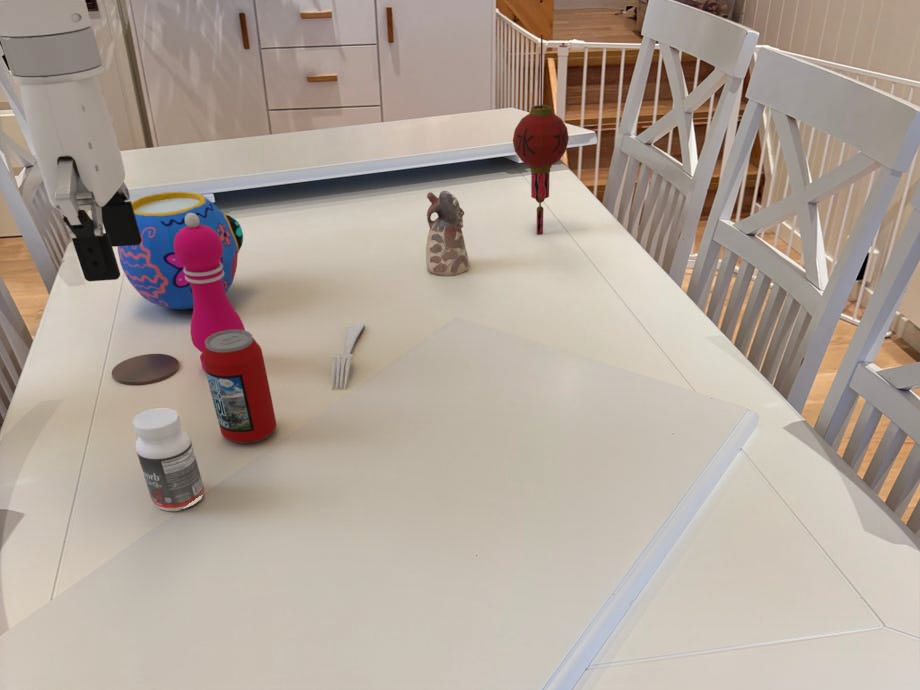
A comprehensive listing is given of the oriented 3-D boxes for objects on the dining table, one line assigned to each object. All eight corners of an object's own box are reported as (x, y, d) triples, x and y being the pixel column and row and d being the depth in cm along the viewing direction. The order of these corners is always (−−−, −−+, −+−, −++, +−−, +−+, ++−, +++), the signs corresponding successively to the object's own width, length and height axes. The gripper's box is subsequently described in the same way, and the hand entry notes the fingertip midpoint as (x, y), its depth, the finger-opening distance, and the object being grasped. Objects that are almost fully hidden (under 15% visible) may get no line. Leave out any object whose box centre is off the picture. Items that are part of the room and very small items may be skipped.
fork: (368, 340, 137) (366, 321, 135) (349, 389, 120) (346, 368, 118) (349, 341, 137) (347, 322, 135) (328, 389, 120) (325, 369, 118)
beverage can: (211, 434, 112) (187, 340, 104) (257, 415, 115) (237, 322, 107) (242, 453, 108) (219, 357, 100) (288, 432, 111) (270, 337, 103)
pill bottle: (144, 498, 101) (117, 416, 95) (191, 479, 104) (168, 399, 97) (167, 519, 98) (141, 436, 91) (214, 499, 101) (192, 417, 94)
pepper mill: (189, 375, 125) (149, 221, 111) (213, 352, 130) (178, 203, 117) (238, 379, 123) (203, 223, 110) (260, 356, 128) (229, 205, 115)
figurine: (469, 275, 149) (465, 196, 141) (425, 277, 149) (420, 198, 141) (469, 260, 154) (466, 183, 146) (427, 261, 155) (422, 185, 147)
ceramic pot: (270, 294, 146) (252, 194, 136) (186, 334, 135) (159, 228, 125) (195, 275, 153) (172, 179, 144) (110, 311, 143) (79, 210, 133)
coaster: (105, 386, 123) (104, 384, 122) (121, 358, 129) (120, 355, 129) (172, 382, 123) (171, 380, 123) (184, 354, 130) (183, 351, 129)
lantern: (577, 231, 163) (584, 33, 143) (542, 246, 158) (545, 42, 138) (537, 221, 168) (538, 28, 148) (502, 235, 163) (499, 36, 144)
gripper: (38, 42, 84) (98, 235, 95) (-26, 78, 71) (52, 297, 82) (120, 37, 84) (170, 230, 96) (71, 72, 71) (135, 291, 83)
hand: (115, 261), depth 89 cm, fingers open, 9 cm apart
